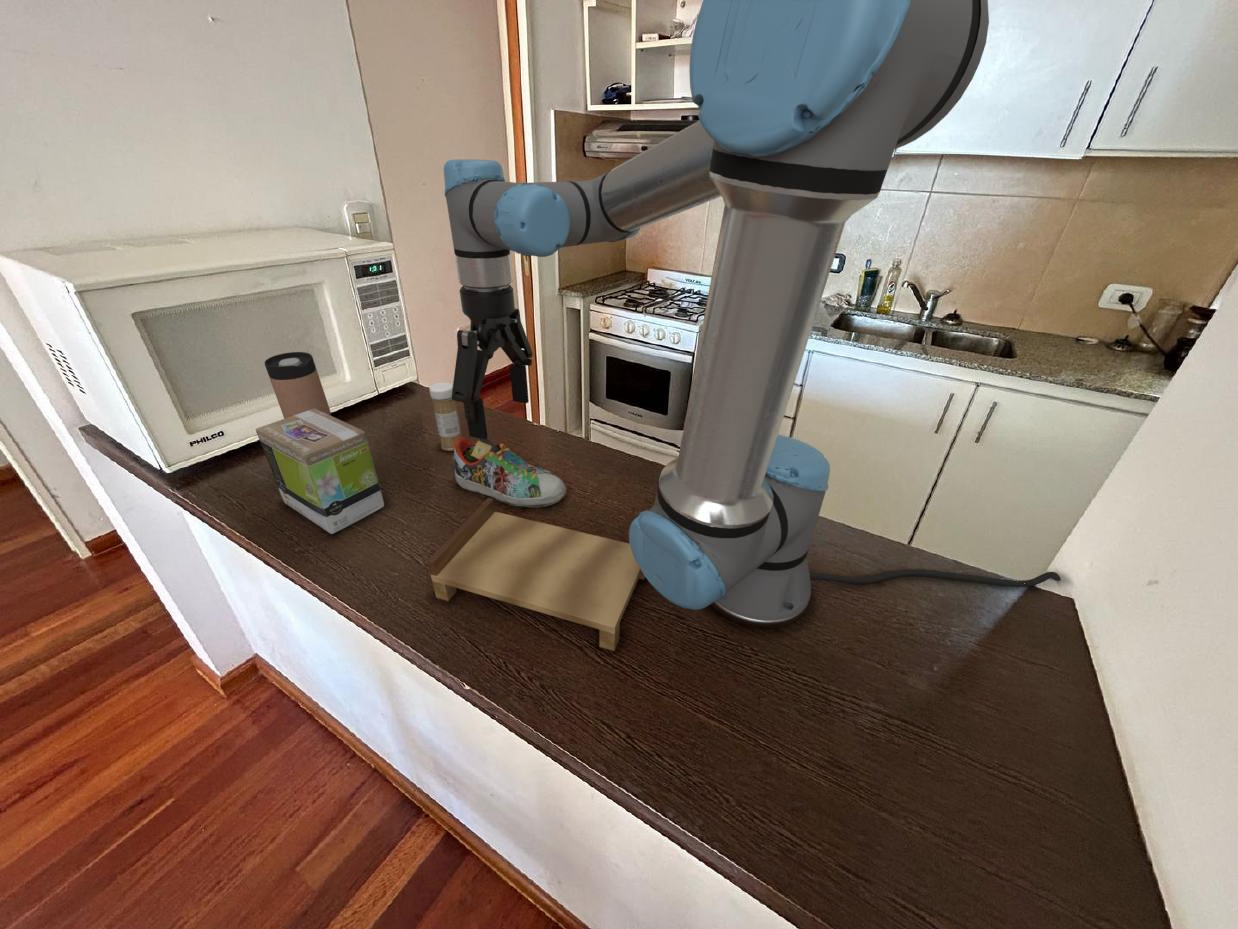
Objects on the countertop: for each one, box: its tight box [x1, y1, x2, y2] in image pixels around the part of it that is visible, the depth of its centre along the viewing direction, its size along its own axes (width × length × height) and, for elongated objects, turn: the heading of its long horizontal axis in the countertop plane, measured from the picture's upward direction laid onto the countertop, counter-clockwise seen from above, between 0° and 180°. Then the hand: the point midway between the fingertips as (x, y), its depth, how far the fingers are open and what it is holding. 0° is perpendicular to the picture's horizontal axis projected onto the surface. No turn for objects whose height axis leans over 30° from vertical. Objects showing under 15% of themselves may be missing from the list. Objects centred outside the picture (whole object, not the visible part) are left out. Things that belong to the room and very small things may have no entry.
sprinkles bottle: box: [428, 381, 463, 452], centre depth 101 cm, size 5×5×13 cm
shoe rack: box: [426, 497, 646, 652], centre depth 71 cm, size 26×15×7 cm, turn 71°
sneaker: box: [453, 436, 567, 508], centre depth 89 cm, size 8×21×10 cm, turn 70°
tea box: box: [255, 409, 385, 535], centre depth 83 cm, size 15×10×15 cm, turn 56°
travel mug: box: [264, 351, 333, 419], centre depth 96 cm, size 8×8×20 cm
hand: (501, 418), depth 84 cm, fingers open, 13 cm apart
